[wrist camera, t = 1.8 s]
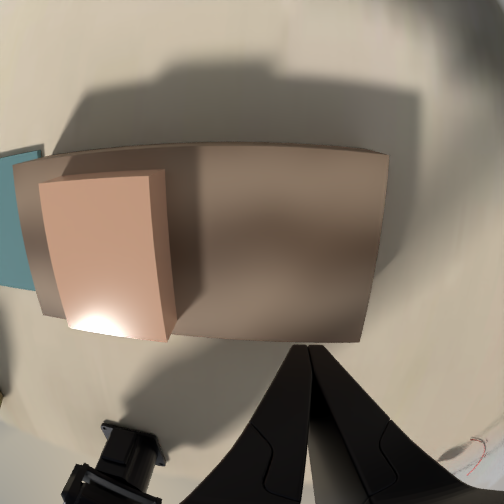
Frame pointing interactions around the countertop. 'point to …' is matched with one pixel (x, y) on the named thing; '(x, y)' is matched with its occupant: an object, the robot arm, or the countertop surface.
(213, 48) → the countertop surface
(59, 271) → the tile
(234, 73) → the countertop surface
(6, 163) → the mat
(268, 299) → the platform
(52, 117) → the countertop surface
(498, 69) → the countertop surface
